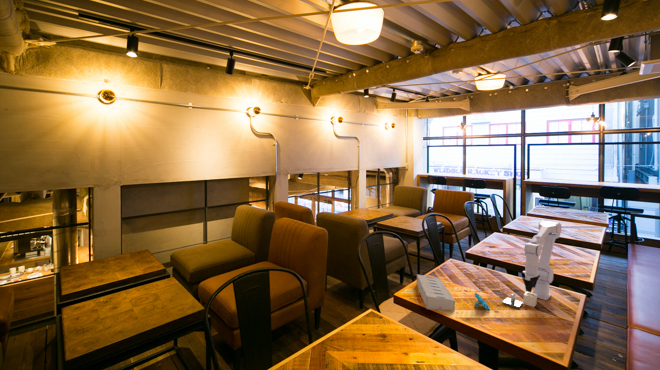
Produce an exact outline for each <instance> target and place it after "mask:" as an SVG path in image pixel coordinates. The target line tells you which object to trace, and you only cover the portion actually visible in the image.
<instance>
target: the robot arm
mask: <svg viewBox="0 0 660 370" xmlns="http://www.w3.org/2000/svg"><path fill="white" fill-rule="evenodd" d="M561 232H562V224H561V222H555V221H554V222H553V221H548V220H546V221H545V220H543V219H541V220H539V222H538V233H537V234H535V235H533V237H532V238H531V240H530V241H529V242H527V243H525V245H524V256H525V269H524V270H522V274H524V276H525V277H524V276H523V277H522V278H521V279H522V281H523V283H524V287H525V292H526V291H527V292H530V293H534V294H537V299H541V300H544V301H548V300H549V299H550V297H551V296H552V294H550V284H552V283H553V281H554V270H553V269H552V268H551V267H550V262H551V257H552V255H553V248H554V245H555V241H556V239H559V238H560V236H561Z"/></svg>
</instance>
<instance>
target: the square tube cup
mask: <svg viewBox="0 0 660 370" xmlns="http://www.w3.org/2000/svg"><path fill="white" fill-rule="evenodd" d="M522 302H523V305H525V306H526V305H527V306H529V307H532V308H535V306H537V304H538V298H537V294H534V293H533V292H528V291H526V290H525V292H524V294H523V301H522Z"/></svg>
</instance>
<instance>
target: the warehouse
mask: <svg viewBox="0 0 660 370" xmlns="http://www.w3.org/2000/svg"><path fill="white" fill-rule="evenodd" d="M416 287H417V290H418V291H419V295H420V296H421V299H422V302H423V304H424V306H425V309H426V310H435V311H436V310H438V311H439V310H442V311H455V310H456V309H455V307H456V306H455V303H456V302H455V301H456V300H455V299H454V297H453V296H452V294H451V293H450V292H449V290H448V288H447V287H446V285H445V283H444V281H442V278H441V277H435V276H429V275H423V274H416Z"/></svg>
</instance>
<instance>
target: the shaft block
mask: <svg viewBox="0 0 660 370" xmlns="http://www.w3.org/2000/svg"><path fill="white" fill-rule="evenodd" d="M502 305H506V306H509V307H512V308H516V309H518V310H519V309H520V308H521V307H522V306H523V305H524V304H523V301H522V300H521V301H520V300H516V294H515V293H514V292H513V293H511V294H510V297H505V299H504V300H503V301H502Z"/></svg>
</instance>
